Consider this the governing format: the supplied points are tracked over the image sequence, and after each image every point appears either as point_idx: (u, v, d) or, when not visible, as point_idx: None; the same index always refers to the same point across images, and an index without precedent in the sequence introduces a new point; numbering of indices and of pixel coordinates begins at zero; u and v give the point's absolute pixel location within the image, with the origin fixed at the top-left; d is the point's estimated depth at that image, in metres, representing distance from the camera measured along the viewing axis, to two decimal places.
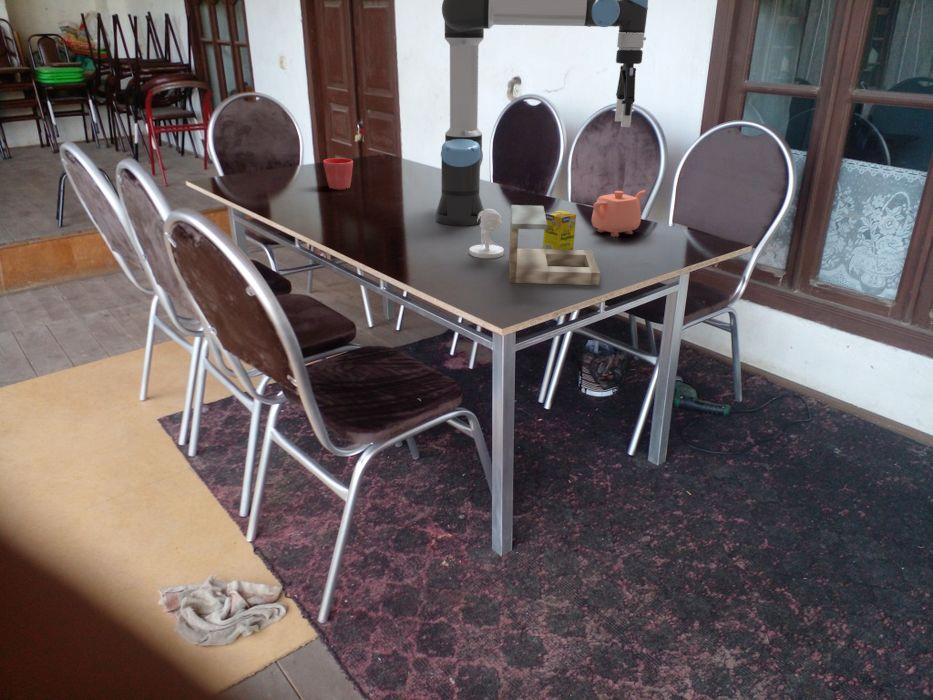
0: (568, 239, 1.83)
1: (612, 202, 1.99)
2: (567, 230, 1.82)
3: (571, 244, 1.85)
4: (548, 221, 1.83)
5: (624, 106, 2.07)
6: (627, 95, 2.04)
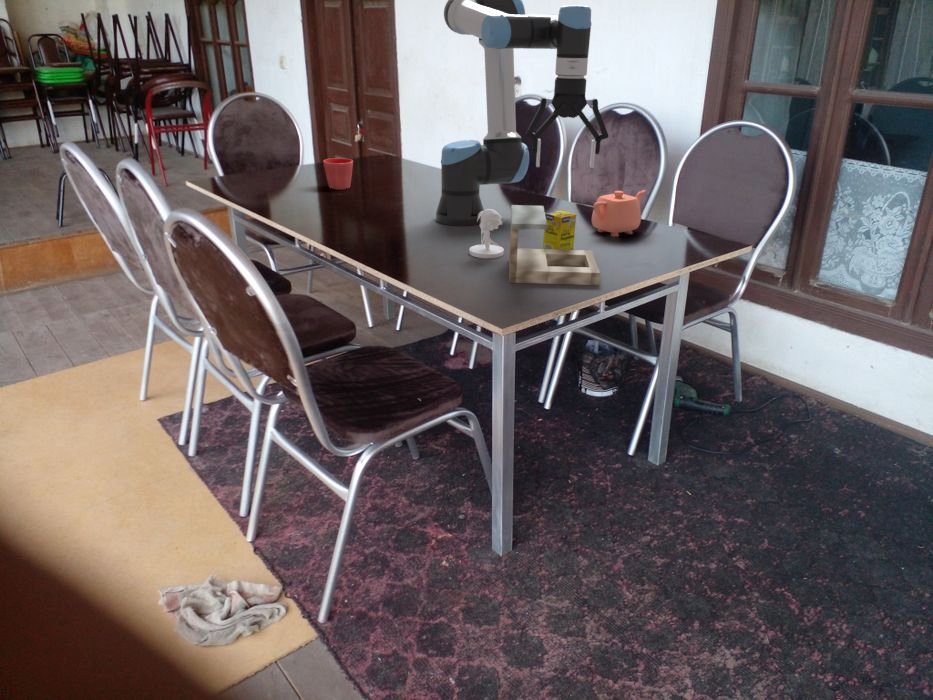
0: (568, 239, 1.83)
1: (612, 202, 1.99)
2: (567, 230, 1.82)
3: (571, 244, 1.85)
4: (548, 221, 1.83)
5: None
6: (528, 128, 1.75)
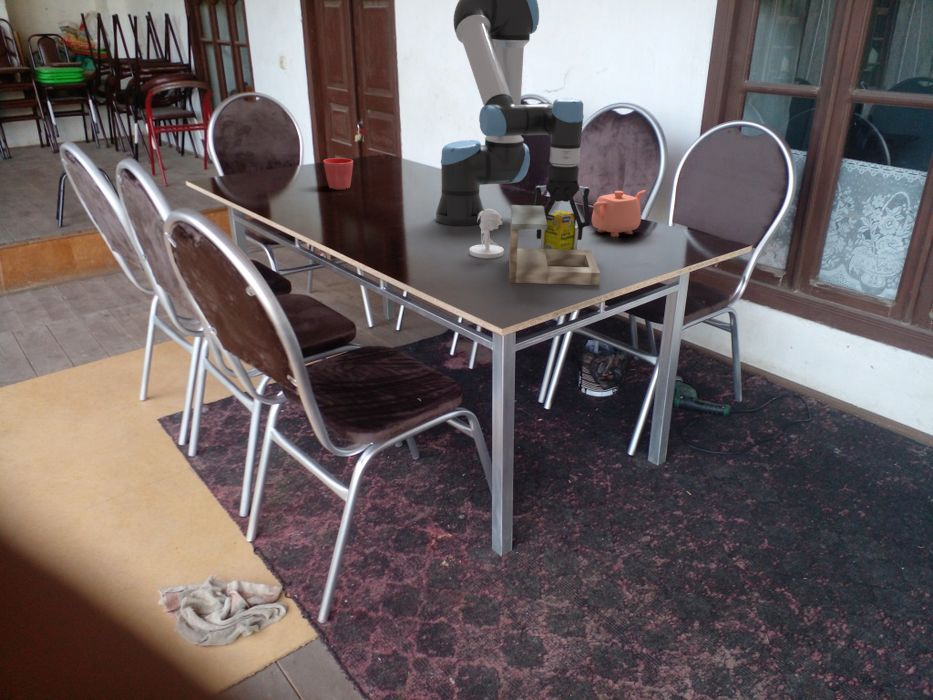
0: (568, 239, 1.83)
1: (612, 202, 1.99)
2: (567, 230, 1.82)
3: (571, 244, 1.85)
4: (548, 221, 1.82)
5: None
6: None
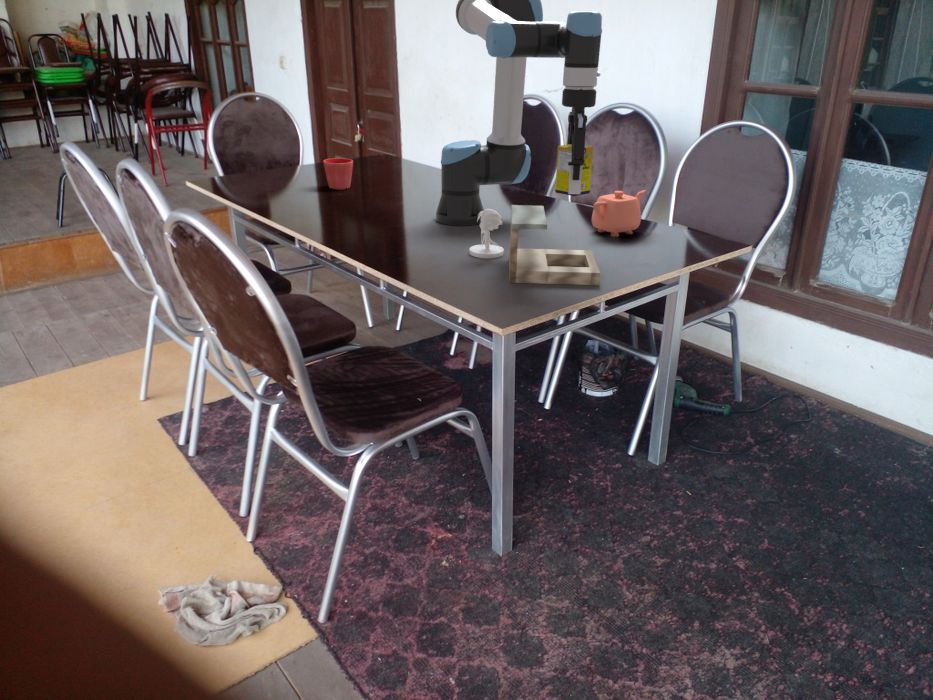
0: None
1: (612, 202, 1.99)
2: None
3: None
4: None
5: (571, 168, 1.60)
6: (574, 155, 1.56)
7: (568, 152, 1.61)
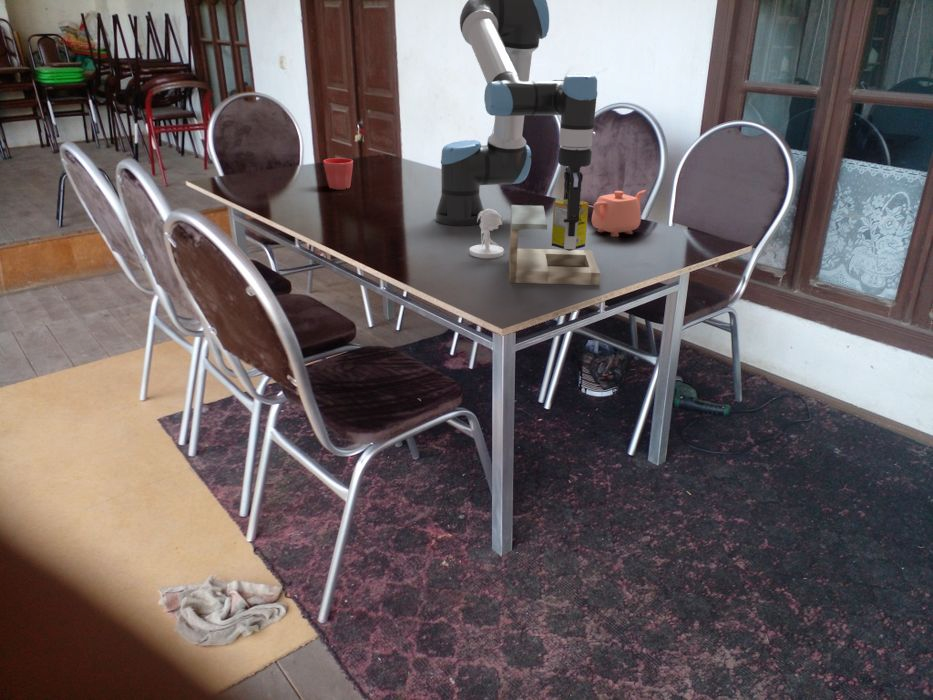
0: None
1: (612, 202, 1.99)
2: None
3: None
4: None
5: (567, 224, 1.64)
6: (570, 214, 1.60)
7: (563, 208, 1.65)
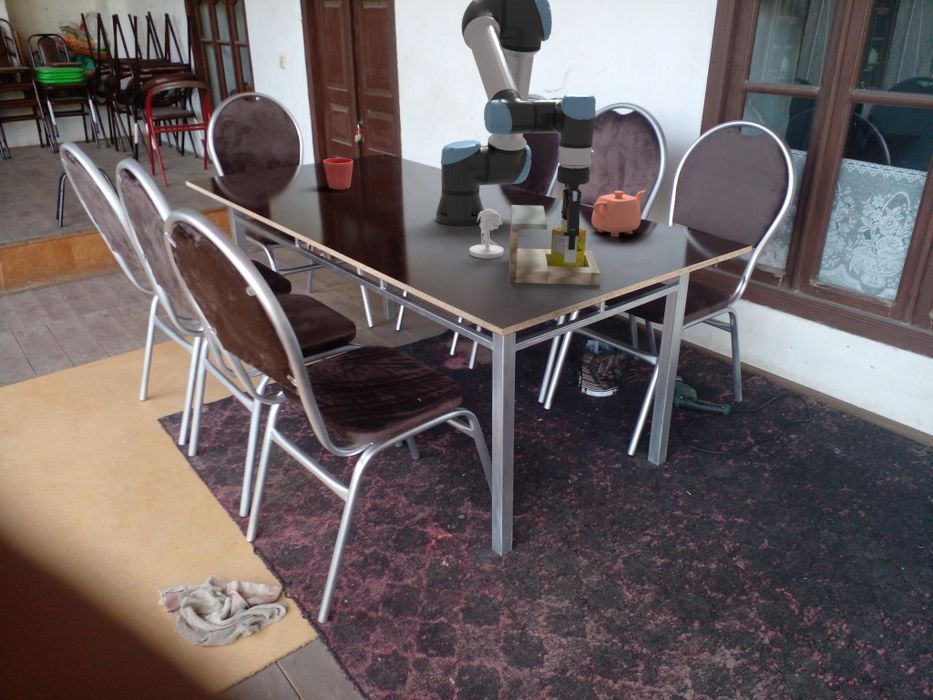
0: None
1: (612, 202, 1.99)
2: None
3: None
4: None
5: (567, 238, 1.63)
6: (570, 227, 1.59)
7: (561, 236, 1.67)
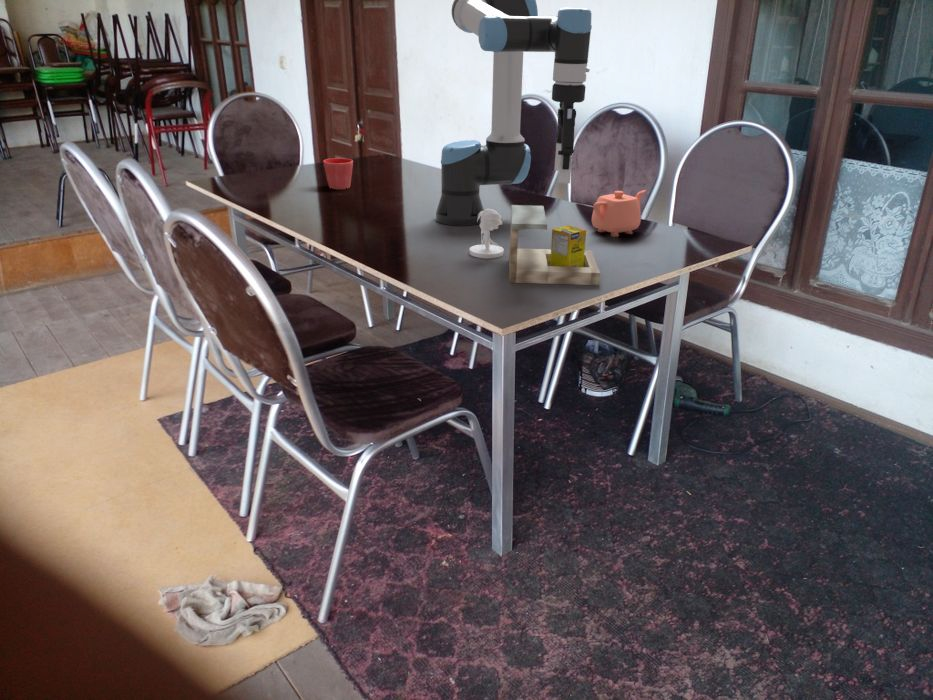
0: None
1: (612, 202, 1.99)
2: None
3: None
4: (574, 240, 1.67)
5: (561, 157, 1.61)
6: (564, 144, 1.57)
7: (561, 236, 1.67)
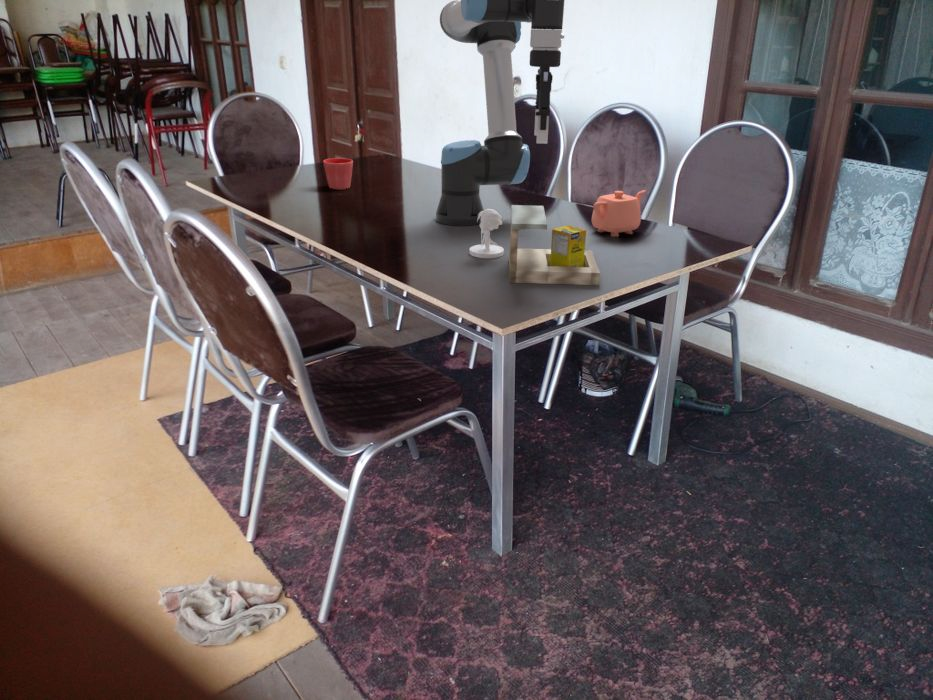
0: None
1: (612, 202, 1.99)
2: None
3: None
4: (574, 240, 1.67)
5: (539, 118, 1.71)
6: (541, 105, 1.67)
7: (561, 236, 1.67)
